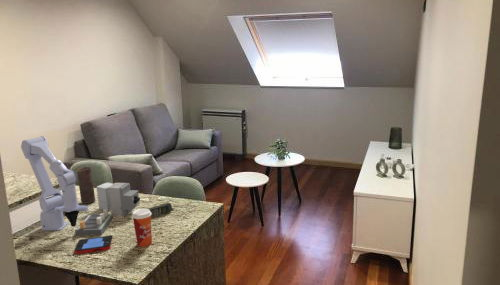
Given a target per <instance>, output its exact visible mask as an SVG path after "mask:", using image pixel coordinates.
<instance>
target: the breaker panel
mask: <svg viewBox="0 0 500 285" xmlns="http://www.w3.org/2000/svg"><path fill="white" fill-rule="evenodd" d="M113 220H114V216H113V214H111V213H109V211H108V209H104V210H103V209H102V212H100V213H99V214H88V215H87V216H86V218H84V219H83V221H85V228H84V229H80V224H79V225H78V226H77V227H76V229H75V230H74V233H75V234H74V235H75V236H102V235H103V234H104V233H105V231H106V230H107V228H108V227H109V225H111V223H112V221H113Z"/></svg>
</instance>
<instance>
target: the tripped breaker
mask: <svg viewBox="0 0 500 285" xmlns="http://www.w3.org/2000/svg"><path fill="white" fill-rule="evenodd" d="M79 225H80V229H84V228H85V221H84V220H80V222H79Z"/></svg>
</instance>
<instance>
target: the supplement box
mask: <svg viewBox="0 0 500 285" xmlns="http://www.w3.org/2000/svg"><path fill="white" fill-rule="evenodd" d="M113 184H114V183H112V182H108V181H107V182H104V183H101V184H100V185H97V186H96V187H95V188H96V193H97V194H96V195H97V203H98V208H99V210H102V211H103V210H104V209H108V212H110V206H111V200H110V196H108V187H110V186H111V185H113ZM109 194H110V193H109Z"/></svg>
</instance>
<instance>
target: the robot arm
mask: <svg viewBox="0 0 500 285" xmlns="http://www.w3.org/2000/svg"><path fill="white" fill-rule="evenodd" d="M49 145H50V144H49V141H48V140H47V138H46V136H43V135H42V136H39V137H33V138H29V139H24V140H22V141H21V145H20V149H21V151H22V153H23V156H24V158H25V159H27V160H28V162H29V164H30V167H31V170H32V171H33V173H34V176H35V178H36V180H37V182H38V185H39V187H40V190H41V194H40V195H39V197H38V202H39V208H40V209H41V212H40V216H39V218H40V219H39V220H40V226H41V231H61V230H63V229H64V228H65V226H67V224H68V222H69V224H70V226H71V227H76V226H77V221H78V217H79V213H80V212H88V211H89V210H90V209H89V205H80V204H79V203H78V202H79V201H78V195H77V188H76V183H77V182H78V175H77V174H76V172H75V171H74V170H71V169H68V168H67V166H66V165H65V164H64V163H63V162H62V161H61V159H57V158H56V157H55V155H54V154H53V152H52V151H51V150H50V147H49ZM42 158H43V159H42ZM43 160H44V161H45V162H47V163H48V164H49V170H50V171H51V172H52V173H53V175H54V176H55V177H56V178H57V179H56V180H57V183H58V185H59V188H60V189H58V188H57V189H56V188H54V186H53V183H52V181H51V179H50V176H49V174H48V171H47V168H46V167H45V165H44V162H43ZM64 217H65V218H66V219H67V221H65V219H64Z"/></svg>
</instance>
